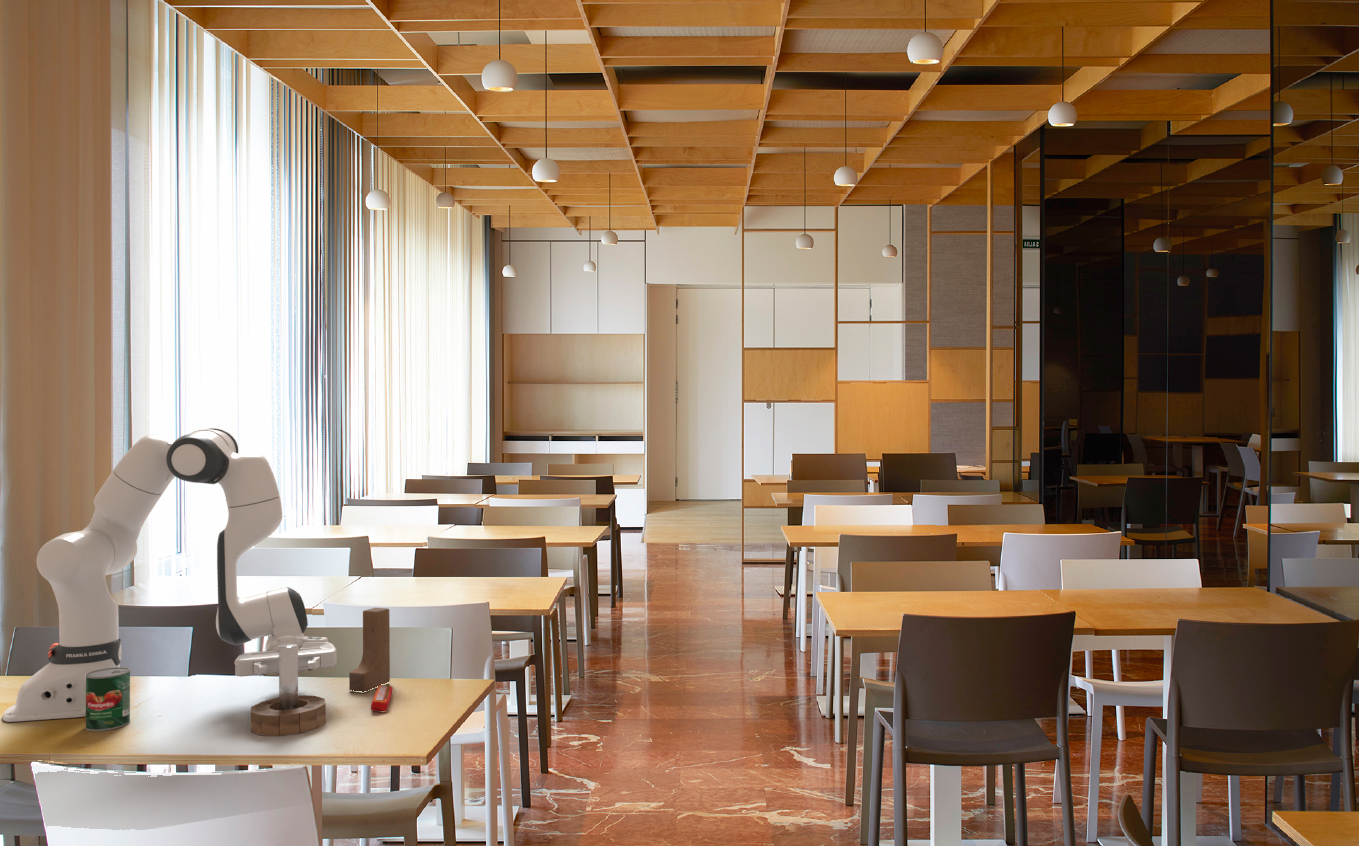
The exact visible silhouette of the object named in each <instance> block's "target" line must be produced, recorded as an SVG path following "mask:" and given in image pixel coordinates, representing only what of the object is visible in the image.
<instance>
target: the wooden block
mask: <svg viewBox="0 0 1359 846" xmlns="http://www.w3.org/2000/svg"><path fill="white" fill-rule="evenodd" d="M390 627H391V626H390V609H389V608H385V607H373V608H372V607H371V608H368V609H364V610H363V611H362V656H361V661H360V663H359V664H358V666H357V668H355V669H354V670H352V671H350V672H349V675H348V676H349V677H348V679H349V680H348V681H349V683H348V684H349V686H348V687H349V690H348V691H350V690H352V691H353V690H354V691H362V692H364V691H368V690H370V689H372V688H375V687H377V686H379V685H381V684H385V683H387V682H389V681H390V679H391V678H390V677H391V676H390V675H391V673H390V672H391V671H390V670H391V669H390V668H391V666H390V663H391V662H390V661H391V658H390V657H391V654H390V653H391V651H390V644H391V643H390V639H391V638H390V635H391V633H390V631H391V630H390V629H391V628H390ZM390 682H391V681H390ZM368 692H369V691H368Z"/></svg>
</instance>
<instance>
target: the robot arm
mask: <svg viewBox="0 0 1359 846" xmlns="http://www.w3.org/2000/svg"><path fill="white" fill-rule="evenodd" d="M175 477H176V478H177V479H179V480H181V481H184V482H187V483H188V482H189V483H194V484H195V483H196V484H206V485H207V484H209V485H215V484H219V486H220V487H221V488H222V490H223V493H224V497H225V502H226V506H227V511H228V513H227V514H228V519H227V522H226V525H225V528H224V529H223V530H222V531H220V532H219V534H218V537H217V543H216V567H217V568H216V569H217V572H216V573H217V611H216V615H215V616H216V617H215V627H216V631H217V634H218V636H219V638H220V640H221V641H223V642H225V643H227V644H230V645H232V646H236V647H237V646H239V645H242V644H245V643H247V642H251V641H253V640H256V639H259V638H263V637H266V636H267V639H266V642H265V648H264V651H263V650H262V651H253V652H252V651H251V652H245V653H240V655H238V656H237V658H236V659H234V665H235V667H234V671H235V672H234V673H235V676H236V677H250V676H260V677H261V676H268V675H270V674H274V675H276V676H278V677H279V647H280V646H283V645H292V644H293V645H298V674H299V673H302V672H306V671H316V670H319V669H320V670H321V669H330V668H335V667H336V666H337V664H338V658H337V657H338V652H337V649H336V646H334V644H333V643H332V642H329V640H328V637H326V636H324V637H323V636H306V635H304V633H305V632H306V630H307V628H308V625H309V624H308V623H309V622H308V616H307V611H306V607H305V603H304V601H303V598H302V596H301V594H300V593H299V592H297V591H296V590H295V589H293V588H291V587H289V586H288V587H283V588H282V587H281V588H278V589H274V590H270V591H266V592H263V593H259V594H255V595H251V596H247V597H242V598H241V597H239V596H238V587H237V581H238V579H237V563H238V561H239V559H240V557H242V555H244V554H245V552H247V551H248V550H251V548H253V547H255V546H257V545H258V544H259V543H261V542H262V541H264V540H265V539H267V538H269V537H270V536H271V535H272V534H273V533H274V532H275V531H276V530H277V529H278V527H280V524H281V522H282V519H283V507H282V501H281V497H280V496H281V495H280V492H279V491H280V490H279V487H278V484H277V481H276V478H275V475H274V473H273V470H272V468H271V465H270V464H269V461H268V460H267V458H266V457H264V455H261V454H259V453H254V452H244V453H239V446H238V443H237V441H236V439H235V437H234V436H233V435H232V434H231V433H230V432H227V431H225V430H223V429H220V428H214V427H213V428H206V429H205V428H204V429H199V430H194V431H192V432H190V433H188V434H184V435H181V436H180V437H178V438H177V439H176V440H171V439H169V438H167V437H165V436H162V435H158V434H147V435H145V436H143V437H141V438H140V439H139V440H138V441H135V443H134V444H133V446H131V448H129V449H128V451H126V453H125V454H124V455H123V456H122V457H121V459H120V460H119V461H118V463H117V464H116V465H115V467H114V468H113V470H112V471H111V473H110V474H109V475H108V477H107V479H106V480H105V482H104V483H103V484H102V486H101V488H100V489H99V491H98V492H97V493H96V495H95V497H94V498H93V505H94V507H95V508H94V512H93V514H92V518H91V520H90V522H89V524H88V525H87V526H86V527H85V528H83V529H82V530H78V531H73V532H66V533H63V534H60V535H58V536H56V537H54V538H52V539H51V540H49V541H47V542H46V543H44V544H43V545H42V546H41V548H40V549H39V551H38V552H37V555H36V567H37V568H36V569H37V570H38V572H39V574H40V575H41V576H42V577H43V579H45V580H46V581H47V582H48V583H49V585H50V586H51V589H52V591H53V594H54V597H55V600H56V604H57V608H58V625H59V627H58V629H59V643H58V642H54V643H52V645H50V647H49V649H48V653H47V659H48V663H47V664H46V665H44V666H43V667H42V668H41V669H39V670H38V671H36V672H35V673H34V674H33V675H32V676H30V677H29V678H28V679H26V680H25V681H24V682H23V683H22V684H21V685H20V688H19V690H18V693H17V695H16V701H15V704H13V705H11V706H9V707H7V709H5V710H4V712H3V715H2V719H3V721H4V722H7V723H10V722H12V723H13V722H28V721H41V720H53V719H55V720H57V719H70V718H82V717H86V674H87V673H89V672H92V671H95V670H100V669H105V668H115V667H121V666H120V665H121V662H122V642H121V640H122V639H121V638H120V637H119V604H118V602H117V601H116V600H115V598H113V597H112V595H111V593H110V590H109V587H108V584H107V580H106V579H107V578H106V576H109V575H112V574H116V573H117V572H120V571H121V570H123V569H124V568H126V567H127V566H128V565H129V564H131V563H132V562H133V560H134V559H135V558H136V555H137V552H138V544H137V540H138V538H139V535H140V533H141V530H142V527H143V526H144V523H145V522H146V520H147V518H148V517H149V515H150V514H151V512H152V510H153V509H154V507H155V506H156V505H157V503H158V501H159V500H160V498H162V495H163V494H164V493H165V491H166V489H167V488H168V486H169V485H170V483H171V482H172V481H173V480H174V479H175Z"/></svg>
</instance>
